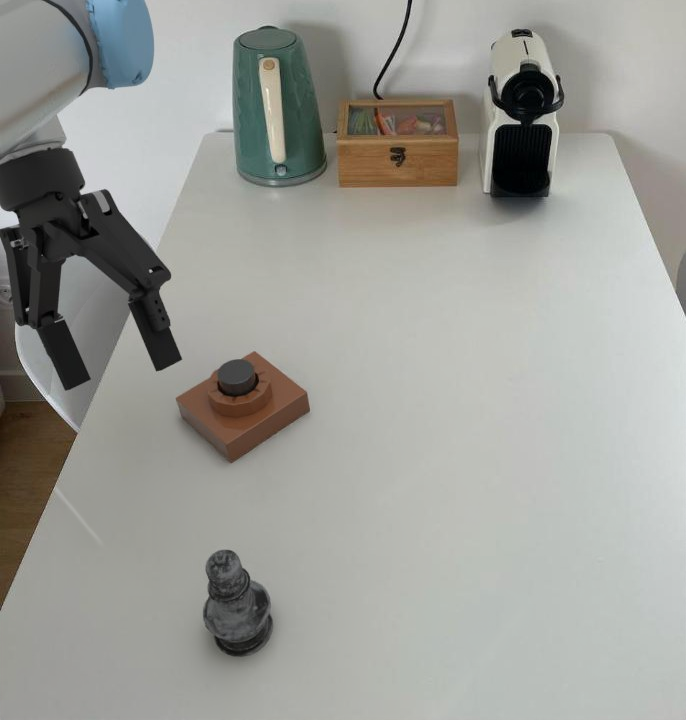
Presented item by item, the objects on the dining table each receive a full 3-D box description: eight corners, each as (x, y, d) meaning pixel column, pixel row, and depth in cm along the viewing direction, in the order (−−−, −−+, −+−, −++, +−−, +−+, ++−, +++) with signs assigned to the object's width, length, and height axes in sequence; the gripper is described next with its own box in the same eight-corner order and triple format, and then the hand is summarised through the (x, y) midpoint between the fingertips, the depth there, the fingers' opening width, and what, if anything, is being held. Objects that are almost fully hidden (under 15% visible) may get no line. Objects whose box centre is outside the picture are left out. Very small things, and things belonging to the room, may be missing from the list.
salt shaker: (197, 632, 73) (166, 556, 65) (246, 588, 76) (223, 510, 68) (240, 673, 70) (213, 598, 62) (289, 624, 73) (270, 547, 65)
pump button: (234, 402, 88) (230, 389, 86) (213, 384, 90) (209, 371, 89) (264, 384, 90) (261, 370, 88) (242, 367, 92) (239, 353, 91)
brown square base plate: (231, 463, 88) (222, 431, 84) (181, 416, 93) (171, 385, 90) (310, 410, 93) (305, 379, 90) (258, 368, 98) (251, 337, 95)
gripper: (150, 109, 69) (240, 341, 73) (-12, 186, 82) (73, 378, 87) (80, 119, 63) (183, 372, 67) (-82, 201, 76) (13, 406, 81)
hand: (121, 376), depth 77 cm, fingers open, 13 cm apart
